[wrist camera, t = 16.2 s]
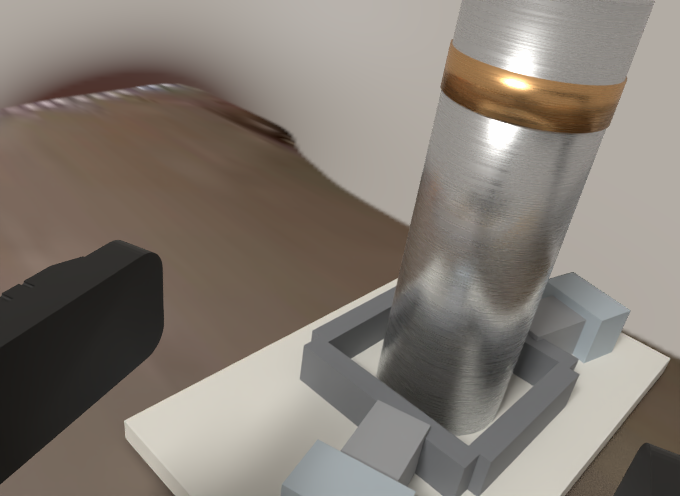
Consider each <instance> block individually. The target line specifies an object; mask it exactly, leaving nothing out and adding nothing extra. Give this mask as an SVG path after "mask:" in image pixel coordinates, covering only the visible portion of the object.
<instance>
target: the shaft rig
mask: <svg viewBox="0 0 680 496" xmlns="http://www.w3.org/2000/svg"><path fill="white" fill-rule="evenodd" d="M397 281H398V279H396V280H394V281H392V282H390V283H388V284H386V285H384V286H382V287H380V288H378V289H376V290H374V291H373V292H371V293H369V294H367V295H365V296H363V297H361V298H359V299H357V300H355V301H353V302H351V303H350V304H348V305H346V306H344V307H342V308H340V309H338V310H336V311H334V312H332V313H330V314H328V315H326V316H325V317H323V318H321V319H319V320H317V321H315V322H313V323H311V324H309V325H307V326H305V327H303V328H301V329H300V330H298V331H296V332H294V333H292V334H290V335H288V336H286V337H284V338H282V339H280V340H278V341H277V342H275V343H273V344H271V345H269V346H267V347H265V348H263V349H261V350H259V351H257V352H255V353H253V354H252V355H250V356H248V357H246V358H244V359H242V360H240V361H238V362H236V363H234V364H232V365H230V366H228V367H227V368H225V369H223V370H221V371H219V372H217V373H215V374H213V375H211V376H209V377H207V378H205V379H204V380H202V381H200V382H198V383H196V384H194V385H192V386H190V387H188V388H186V389H184V390H182V391H180V392H179V393H177V394H175V395H173V396H171V397H169V398H167V399H165V400H163V401H161V402H159V403H157V404H155V405H154V406H152V407H150V408H148V409H146V410H144V411H142V412H140V413H138V414H136V415H134V416H132V417H131V418H129V419H127V420H125V421H124V424H125V437H126V439H127V440H128V442H129V443H130V444H131V445H132V446H133V447H134V449H135V450H136V451H137V452H138V453H139V454H140V456H141V457H142V458H143V459H144V460H145V461H146V462H147V464H148V465H149V466H150V467H151V468H152V469H153V471H154V472H155V473H156V474H157V475H158V476H159V478H160V479H161V480H162V481H163V482H164V483H165V485H166V486H167V487H168V488H169V489H170V490H171V492H172V493H173V494H174V495H175V496H565V495H566V494H567V493H568V491H569V490H570V489H571V488H572V486H573V485H574V484H575V482H576V481H577V480H578V479H579V477H580V476H581V475H582V474H583V472H584V471H585V470H586V469H587V467H588V466H589V465H590V464H591V462H592V461H593V460H594V459H595V457H596V456H597V455H598V454H599V452H600V451H601V450H602V449H603V447H604V446H605V445H606V444H607V442H608V441H609V440H610V439H611V437H612V436H613V435H614V434H615V432H616V431H617V430H618V429H619V427H620V426H621V425H622V423H623V422H624V421H625V420H626V418H627V417H628V416H629V415H630V413H631V412H632V411H633V410H634V408H635V407H636V406H637V405H638V403H639V402H640V401H641V400H642V398H643V397H644V396H645V395H646V393H647V392H648V391H649V390H650V388H651V387H652V386H653V385H654V383H655V382H656V381H657V380H658V378H659V377H660V376H661V375H662V373H663V372H664V370H665V368H666V366H667V364H668V362H669V360H670V358H669V357H667V356H665V355H663V354H661V353H659V352H657V351H655V350H653V349H652V348H650V347H648V346H646V345H644V344H642V343H640V342H638V341H636V340H635V339H633V338H631V337H629V336H627V335H625V334H623V333H621V331H622V328H623V326H624V324H625V321H626V319H627V318H628V315H629V313H630V310H629V309H628V308H626V307H625V306H623V305H621V304H620V303H619V302H617V301H616V300H614V299H612V298H611V297H610V296H608V295H607V294H605V293H604V292H602V291H601V290H599V289H598V288H596V287H595V286H593V285H592V284H590V283H589V282H587V281H586V280H584V279H583V278H581V277H580V276H578V275H577V274H575V273H574V272H571V273H568V274H564V275H561V276H557V277H554V278H550V279H548V282H547V284H546V287H545V290H544V292H543V295H542V297H541V300H540V303H539V305H538V308H537V310H536V313H535V316H534V318H533V321H532V324H531V326H530V329H529V331H528V334H527V337H526V339H525V342H524V344H523V347H522V350H521V352H520V355H519V357H518V360H517V363H516V365H515V368H514V371H513V373H512V376H511V378H510V381H509V384H508V386H507V389H506V391H505V394H504V397H503V399H502V402H501V404H500V407H499V410H498V412H497V415H496V417H495V418H494V420H493V421H492V422H491V423H490V424H489V425H488V426H487V427H486V428H484V429H482V430H480V431H478V432H475V433H472V434H468V435H461V436H455V435H453V434H452V433H451V432H449V431H448V430H447V429H445V428H444V427H442V426H441V425H440V424H438V423H437V422H436V421H434V420H433V419H432V418H430V417H429V416H428V415H426V414H425V413H423V412H422V411H421V410H419V409H418V408H417V407H415V406H414V405H413V404H411V403H410V402H409V401H407V400H406V399H404V398H403V397H402V396H400V395H399V394H398V393H396V392H395V391H394V390H392V389H391V388H390V387H388V386H387V385H386V384H384V383H383V382H381V381H380V380H379V379H377V378H376V372H377V368H378V363H379V359H380V355H381V350H382V346H383V342H384V337H385V333H386V329H387V324H388V320H389V316H390V311H391V307H392V303H393V298H394V294H395V290H396V285H397Z"/></svg>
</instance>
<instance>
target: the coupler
mask: <svg viewBox="0 0 680 496" xmlns="http://www.w3.org/2000/svg"><path fill="white" fill-rule="evenodd" d="M654 2H655V1H654V0H462V3H461V7H460V12H459V17H458V20H457V25H456V29H455V34H454V38H453V39H452V40H451V43H450V47H449V51H448V56H447V60H446V65H445V69H444V73H443V78H442V83H441V89H442V90H441V95H440V99H439V103H438V107H437V112H436V116H435V120H434V125H433V129H432V133H431V138H430V142H429V146H428V151H427V155H426V160H425V164H424V168H423V172H422V177H421V181H420V186H419V190H418V194H417V198H416V203H415V207H414V212H413V216H412V220H411V224H410V229H409V233H408V237H407V242H406V246H405V250H404V255H403V259H402V263H401V268H400V272H399V277H398V281H397V285H396V290H395V294H394V298H393V303H392V307H391V311H390V316H389V320H388V324H387V329H386V333H385V337H384V342H383V346H382V350H381V355H380V359H379V363H378V368H377V372H376V378H377V379H379V380H380V381H381V382H383V383H384V384H386V385H387V386H388V387H390V388H391V389H392V390H394V391H395V392H396V393H398V394H399V395H400V396H402V397H403V398H404V399H406V400H407V401H409V402H410V403H411V404H413V405H414V406H415V407H417V408H418V409H419V410H421V411H422V412H423V413H425V414H426V415H428V416H429V417H430V418H432V419H433V420H434V421H436V422H437V423H438V424H440V425H441V426H442V427H444V428H445V429H447V430H448V431H449V432H451V433H452V434H453V435H455V436H461V435H468V434H472V433H475V432H478V431H480V430H482V429H484V428H486V427H487V426H488V425H489V424H490V423H491V422H492V421H493V420H494V418H495V417H496V415H497V412H498V410H499V407H500V404H501V402H502V399H503V397H504V394H505V391H506V389H507V386H508V384H509V381H510V378H511V376H512V373H513V371H514V368H515V365H516V363H517V360H518V357H519V355H520V352H521V350H522V347H523V344H524V342H525V339H526V337H527V334H528V331H529V329H530V326H531V324H532V321H533V318H534V316H535V313H536V310H537V308H538V305H539V303H540V300H541V297H542V295H543V292H544V290H545V287H546V284H547V282H548V279H549V276H550V274H551V271H552V269H553V266H554V263H555V261H556V258H557V256H558V253H559V250H560V248H561V245H562V243H563V240H564V237H565V235H566V232H567V230H568V227H569V224H570V222H571V219H572V216H573V214H574V211H575V209H576V206H577V203H578V200H579V198H580V196H581V193H582V190H583V188H584V185H585V183H586V180H587V177H588V175H589V172H590V169H591V167H592V164H593V162H594V159H595V156H596V153H597V151H598V149H599V146H600V143H601V141H602V138H603V135H604V133H605V130H606V128H608V127H609V125H610V123H611V120H612V118H613V115H614V112H615V110H616V107H617V105H618V102H619V99H620V97H621V94H622V92H623V89H624V86H625V84H626V81H627V77H626V75H627V73H628V70H629V68H630V65H631V62H632V60H633V57H634V55H635V52H636V49H637V47H638V44H639V42H640V39H641V36H642V33H643V31H644V28H645V26H646V23H647V21H648V18H649V15H650V13H651V10H652V7H653V5H654Z"/></svg>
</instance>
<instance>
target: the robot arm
mask: <svg viewBox="0 0 680 496" xmlns="http://www.w3.org/2000/svg"><path fill="white" fill-rule="evenodd" d="M163 327H164V309H163V268H162V261H161V259H160V257H159V256H158V255H157V254H155V253H153V252H150V251H148V250H145V249H143V248H140V247H137V246H135V245H132V244H129V243H127V242H124V241H121V240H115V241H112V242H110V243H108V244H106V245H104V246H103V247H101V248H99V249H98V250H96V251H94V252H92V253H91V254H89V255H87V256H86V257H79V258H76V259H72V260H69V261H66V262H62V263H59V264H55V265H52V266H50V267H48V268H46V269H44V270H42V271H41V272H39V273H37V274H35V275H34V276H32V277H30V278H28V279H27V280H25V281H24V283H23V285H20V284H18V285H16V286H14V287H12V288H11V289H9V290H7V291H5V292H4V293H2V296H1V297H0V484H1V483H3V482H4V481H5V480H6V479H7V478H8V477H9V476H11V475H12V474H13V473H14V472H15V471H16V470H18V469H19V468H20V467H21V466H22V465H23V464H25V463H26V462H27V461H28V460H29V459H30V458H32V457H33V456H34V455H35V454H36V453H37V452H39V451H40V450H41V449H42V448H43V447H44V446H46V445H47V444H48V443H49V442H50V441H51V440H53V439H54V438H55V437H56V436H57V435H58V434H60V433H61V432H62V431H63V430H64V429H65V428H67V427H68V426H69V425H70V424H71V423H72V422H74V421H75V420H76V419H77V418H78V417H79V416H81V415H82V414H83V413H84V412H85V411H86V410H87V409H89V408H90V407H91V406H92V405H93V404H94V403H96V402H97V401H98V400H99V399H100V398H101V397H103V396H104V395H105V394H106V393H107V392H108V391H110V390H111V389H112V388H113V387H114V386H115V385H117V384H118V383H119V382H120V381H121V380H122V379H124V378H125V377H126V376H127V375H128V374H129V373H131V372H132V371H133V370H134V369H135V368H136V367H138V366H139V365H140V364H141V363H142V362H143V361H145V360H146V359H147V358H148V357H149V356H150V355H151V354H152V352H153V351H154V350H155V348H156V347H157V345H158V343H159V341H160V338H161V336H162V332H163ZM614 496H680V455H678V454H675V453H673V452H670V451H667V450H665V449H662V448H659V447H657V446H654V445H652V444H649V443H645V444H643V445H642V446H641V447H640V449H639V450H638V452H637V454H636V455H635V457H634V459H633V461H632V463H631V465H630V466H629V468H628V470H627V472H626V474H625V476H624V477H623V479H622V481H621V483H620V485H619V487H618V488H617V490H616V492H615V494H614Z"/></svg>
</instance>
